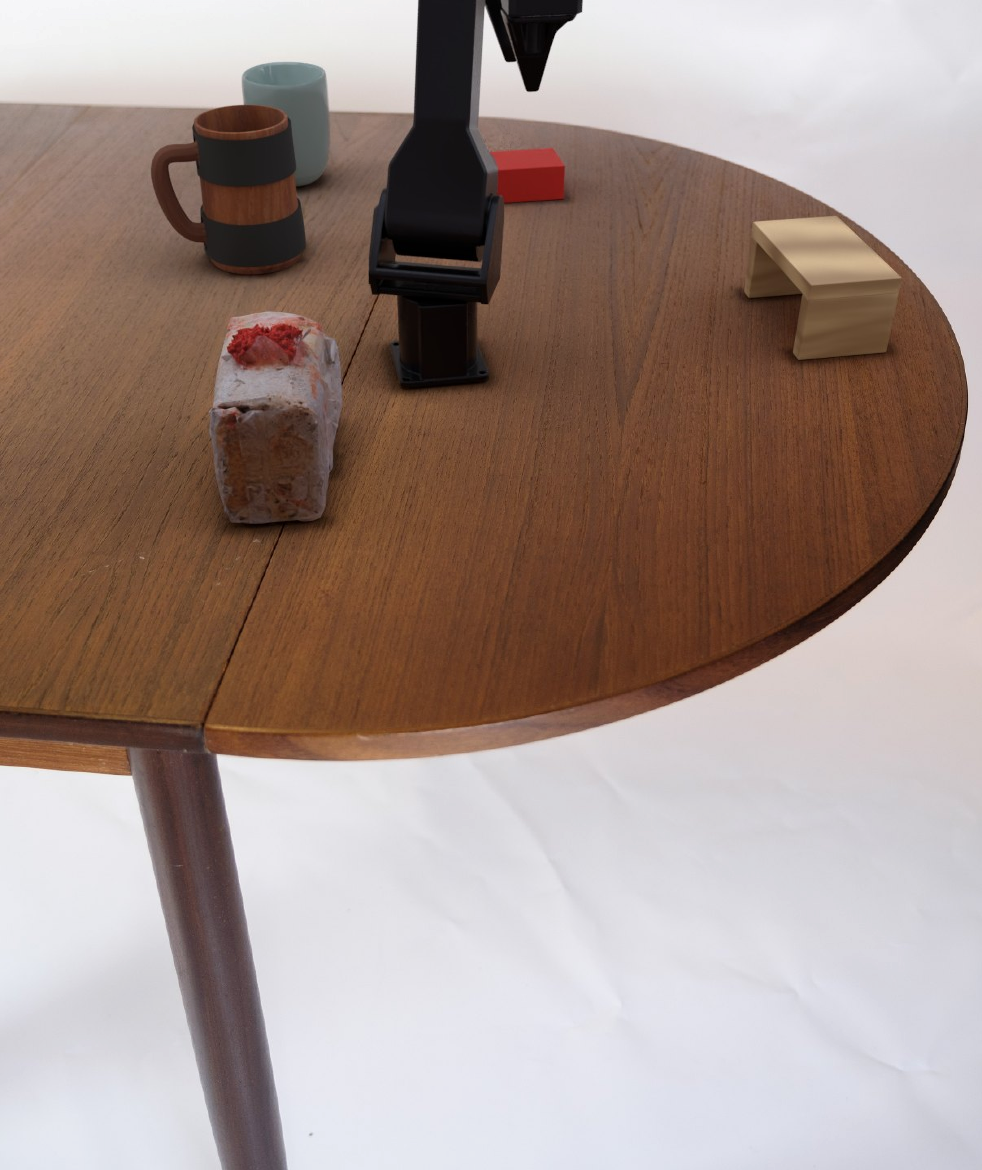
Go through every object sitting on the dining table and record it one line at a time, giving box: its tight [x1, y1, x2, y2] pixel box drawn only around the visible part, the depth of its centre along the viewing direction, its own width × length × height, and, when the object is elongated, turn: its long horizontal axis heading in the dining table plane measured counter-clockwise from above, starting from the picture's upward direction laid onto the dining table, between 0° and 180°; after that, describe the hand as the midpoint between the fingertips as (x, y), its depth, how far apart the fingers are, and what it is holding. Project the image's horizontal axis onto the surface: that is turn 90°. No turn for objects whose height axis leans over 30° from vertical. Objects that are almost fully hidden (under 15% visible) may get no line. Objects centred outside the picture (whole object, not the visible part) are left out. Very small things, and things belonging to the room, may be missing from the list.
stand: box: [743, 215, 903, 361], centre depth 99 cm, size 12×7×6 cm, turn 11°
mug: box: [150, 104, 307, 275], centre depth 106 cm, size 9×12×12 cm
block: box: [489, 147, 566, 204], centre depth 121 cm, size 8×5×3 cm, turn 101°
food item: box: [208, 310, 343, 525], centre depth 80 cm, size 14×8×10 cm, turn 6°
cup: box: [241, 61, 331, 188], centre depth 121 cm, size 8×8×10 cm
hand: (521, 76), depth 115 cm, fingers open, 9 cm apart
